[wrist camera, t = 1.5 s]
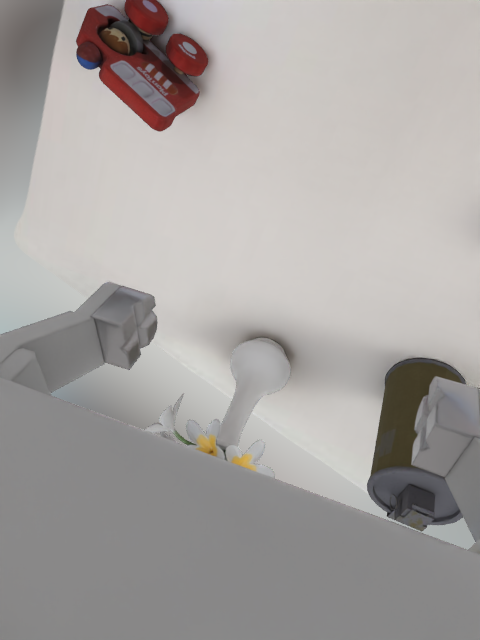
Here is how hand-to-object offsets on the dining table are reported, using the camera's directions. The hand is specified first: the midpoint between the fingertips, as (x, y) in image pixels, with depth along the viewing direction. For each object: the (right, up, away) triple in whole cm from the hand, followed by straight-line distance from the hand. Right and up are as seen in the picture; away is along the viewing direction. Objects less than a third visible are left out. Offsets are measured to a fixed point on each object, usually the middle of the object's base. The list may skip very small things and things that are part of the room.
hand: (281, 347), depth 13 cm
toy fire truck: (-9, +28, +33) cm, 45 cm away
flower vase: (+2, -4, +56) cm, 56 cm away
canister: (+24, -8, +49) cm, 55 cm away
